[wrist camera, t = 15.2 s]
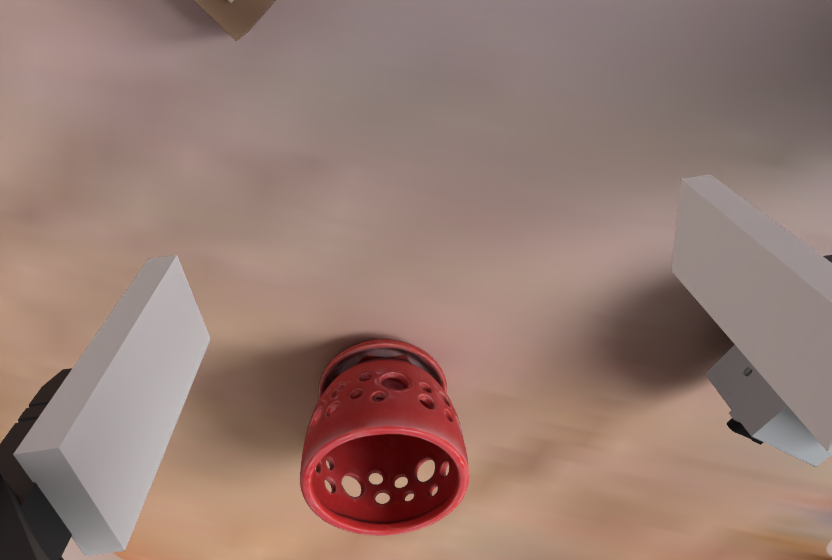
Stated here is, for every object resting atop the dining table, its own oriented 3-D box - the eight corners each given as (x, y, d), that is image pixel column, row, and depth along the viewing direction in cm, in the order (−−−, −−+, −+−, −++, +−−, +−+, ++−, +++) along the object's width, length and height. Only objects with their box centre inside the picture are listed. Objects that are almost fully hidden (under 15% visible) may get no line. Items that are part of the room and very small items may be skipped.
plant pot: (283, 380, 54) (261, 485, 44) (392, 300, 50) (396, 396, 40) (376, 453, 60) (376, 563, 49) (481, 387, 56) (504, 490, 46)
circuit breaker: (673, 360, 56) (762, 490, 43) (789, 242, 50) (934, 351, 37) (728, 388, 58) (829, 519, 45) (846, 278, 52) (1001, 393, 39)
